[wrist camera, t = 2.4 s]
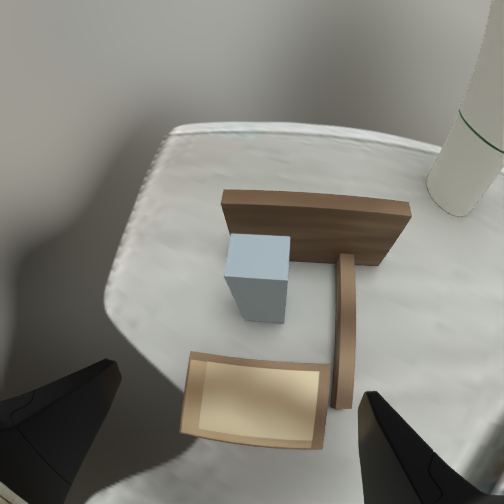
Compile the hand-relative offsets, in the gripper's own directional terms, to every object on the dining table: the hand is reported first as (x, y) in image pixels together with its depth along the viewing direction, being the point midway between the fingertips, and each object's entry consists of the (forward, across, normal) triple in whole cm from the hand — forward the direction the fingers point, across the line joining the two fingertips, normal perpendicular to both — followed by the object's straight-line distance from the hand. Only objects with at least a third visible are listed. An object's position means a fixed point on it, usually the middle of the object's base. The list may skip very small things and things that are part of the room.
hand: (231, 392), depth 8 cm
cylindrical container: (+24, -22, -6) cm, 33 cm away
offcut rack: (+12, -2, +6) cm, 13 cm away
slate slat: (+14, 0, +4) cm, 14 cm away
